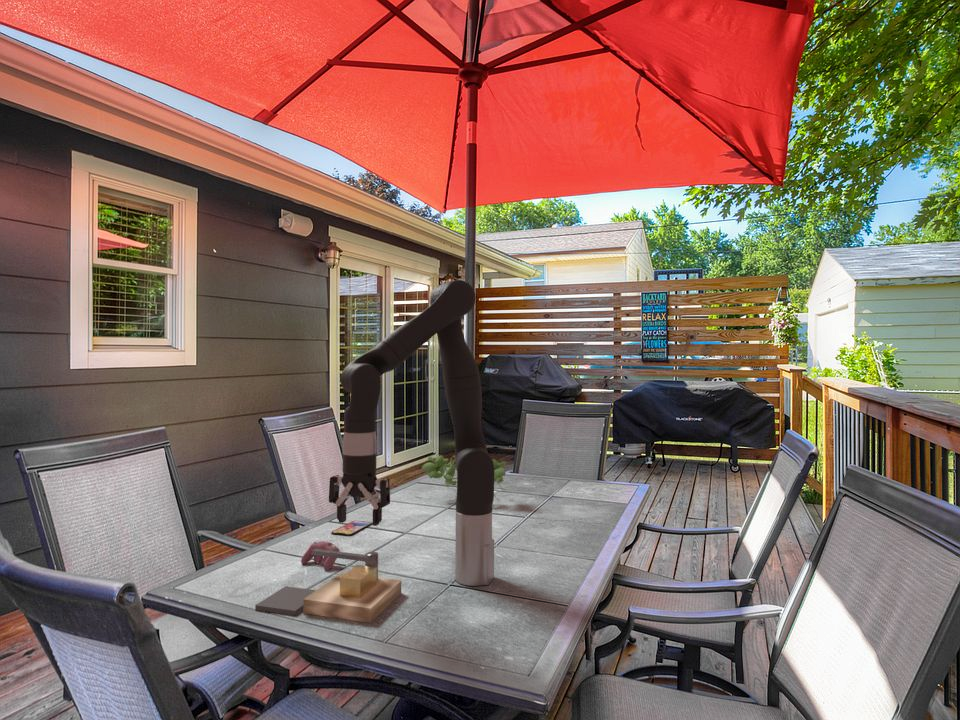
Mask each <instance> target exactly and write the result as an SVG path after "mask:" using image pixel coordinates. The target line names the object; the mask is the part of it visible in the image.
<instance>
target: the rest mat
mask: <svg viewBox="0 0 960 720" xmlns="http://www.w3.org/2000/svg"><path fill="white" fill-rule="evenodd" d="M316 590H317V589H310V588H303V587H302V588H301V587H294V586H286V585H284V587H282V588H280V589H279V590H276V591H275V592H274V593H273V594H270V595H269V596H268V597H266V598H264V599H263V600H261V601H260V602H258V603H257V604H255V607H254V609H255V611H256V610H257V611H262V612H268V613H275V614H280V615H282V614H283V615H289V616H297V615H298V614H299V613H301V612H303V599H305V598H306V597H307V596H309V595H310V594H312V593H313V592H315V591H316Z"/></svg>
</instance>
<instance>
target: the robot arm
mask: <svg viewBox="0 0 960 720" xmlns="http://www.w3.org/2000/svg"><path fill="white" fill-rule="evenodd" d="M475 304H476V292H475V290H474V288H473V286H472V285H471V284H470V283H469V282H467V281H465V280H463V279H462V280H461V279H453V280H450V281H446V282H444V283H442V284H439V285H437V286H436V287H435V288H433V290H432V291H431V293H430V297H429V306H428V307H427V308H425V309H424V310H423V311H422V312H420V313H419V314H417V315H416V316H415V317H413V318H411V319H410V320H408V321H407V322H405V323H403V324H402V325H400V326H399V327H397V328H396V329H394V330H393V331H392V332H391V333H390V334H388V335H387V336H386V337H384V338H383V339H382V340H381V341H379V342H378V344H376V346H374V347H373V348H371V349H370V350H368V351H367V352H365V353H363V354H362V355H360V356H359V357H357V358H356V359H354V360H352V361H351V362H350V363H349V364H347V366H346V367H344V369H343V370H342V372H341V374H340V380H339V381H340V385H341V387H342V388H343V389H344V390H345V391H346V392H348V393H350V400H349V401H350V402H349V406H347V407H346V408H345V410H344V415H343V416H344V417H343V438H342V449H341V450H342V475H339V474H335V475H332V476H331V477H329V487H328V490H329V492H328V502H329V503H330V504H333V505H334V504H335V506H336V519H337V521H338V523H342V524H343V523H344V522H346V521H347V504H346V503H347V501H348V500H349V498H350V497H352V498H356V497H358V498H362V499H363V498H365V499H366V500H367V502H369V504H370V505H371V506H372V507H373V509H372V526H373V527H374V526H375V527H377V526H378V525H380V524H381V522H382V520H383V508H384V507H387V506H388V505H390V504H391V487H390V478H388V477H385V478H381V479H380V478H377V445H378V444H377V442H378V441H377V433H376V430H377V429H376V427H377V426H376V425H377V424H376V422H377V421H376V420H377V419H376V411H377V409H378V405H379V400H380V395H381V394H380V393H381V389H382V388H381V387H382V386H381V385H382V380H381V376H382V375H383V374H385V373H388V372H391V371H394V370H396V369H397V368H398V367H399V366H401V365H402V363H404V362H405V361H406V360H408V358H410V357H412V355H413V354H414V353H415V352H416V351H418V349H420V348H421V347H422V346H423V345H424V344H425V343H426V342H428V341H429V340H431V338H432V337H434V336H435V335H437V340H438V347H439V354H440V356H439V357H440V362H441V367H442V377H443V384H444V391H445V397H446V402H447V407H448V411H449V414H450V419H451V423H452V425H453V432H454V434H453V435H454V450H455V451H454V452H455V455H454V457H455V458H454V460H455V462H454V465H455V466H456V470H455V471H456V477H457V479H456V482H457V483H456V492H457V493H456V498H455V499H456V500H455V550H454V551H455V552H454V553H455V556H454V557H455V561H454V562H455V566H454V567H455V569H454V573H455V574H454V575H455V577H454V578H455V581H456V582H457V583H458V584H460V585H464V586H471V587H474V586H477V587H478V586H489V585H490V583H491V582H492V580H493V578H494V577H495V539H494V538H493V504H494V498H495V496H494V495H495V482H494V463H493V460H492V459H493V458H492V456H491V455H490V453H489V452H488V449H487V445H486V441H485V437H484V432H483V427H482V426H483V425H482V424H483V423H482V417H483V416H482V412H483V411H482V410H483V391H482V384H481V383H482V381H481V375H480V369H479V367H478V363H477V360H476V358H475V357H474V355H473V353H472V351H471V350H470V348H469V346H468V343H467V342H466V339H465V336H464V332H463V323H462V317H464V316H466V315H467V314H469V313H470V312H471V311H472V309H473V308H474V306H475ZM341 485H343V487H344V489H343V491H342V492H341V493H340V486H341ZM376 486H377V487H378V489H379V493H378V491H377V490H376ZM379 494H380V495H379Z"/></svg>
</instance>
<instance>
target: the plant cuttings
mask: <svg viewBox="0 0 960 720" xmlns="http://www.w3.org/2000/svg"><path fill="white" fill-rule="evenodd" d="M453 458H454V459H453ZM448 460H449V458H445V457H444V455H438V456H436V457H435V459H434V458H433V457H432V456H431V455H429V456H428V458H427V461H428V462H426V463H423V465H422V466H421V469H422V470H423V471H424V473H425V472H426V475H427V476H428V477H429V479H433V478H434V479H441V478H442V477H443V478H444V484H445V487H447V488H449V487H452V486H454V487H457V474H456V471H457V470H456V466H455V456H452V457H450V461H449V462H448ZM492 460H493V463H494V483H496V484H498V485H499V487H500V488H501V490H503V491H506V490H507V489H506V488H503V487H502V486H501V484H500V483H502V482H503V481H504V478H503V476H506V470H505V468H503V466H505V467H507V462H506V461H501V462H500V461H497V460H496V459H493V458H492ZM429 461H431V462H429ZM447 467H448V469H447ZM454 492H455V493H456V494H457V490H454ZM494 498H496V495H495V494H494Z"/></svg>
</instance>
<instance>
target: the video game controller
mask: <svg viewBox="0 0 960 720" xmlns="http://www.w3.org/2000/svg"><path fill="white" fill-rule="evenodd" d="M314 549H322V550H330V551H338V552H341V550H340V548H339V547H338V546H336V545H335V544H334V543H332V542H329V541H313V543H312V544H310V546H309V547H308V549H307V550H306V551H305V552H304V554H303V555H302V557H301V558H300V559H301V560H300V563H301V565H306V564H308V563H309V562H310V561H311V560H312V559H313V562H315V563H317V564H320V563H322V564H323V570H324V571H328V570H330V569H331V568H332V567H333V566H334V564H335V562H336V561H337V559H338V558H334V557H326V556H318V555H312V550H314Z"/></svg>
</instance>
